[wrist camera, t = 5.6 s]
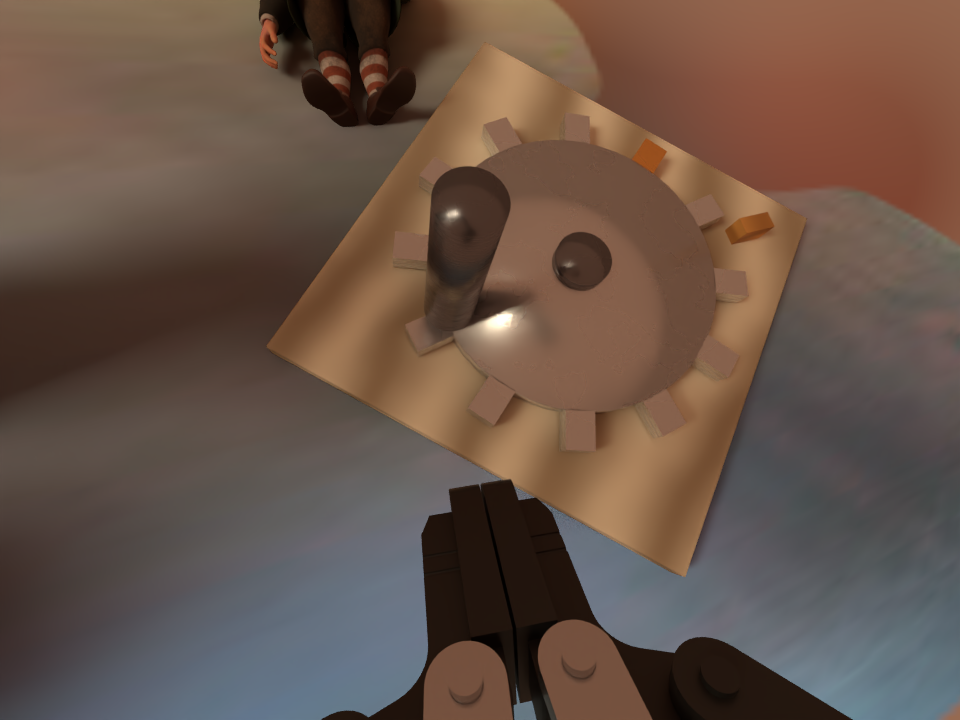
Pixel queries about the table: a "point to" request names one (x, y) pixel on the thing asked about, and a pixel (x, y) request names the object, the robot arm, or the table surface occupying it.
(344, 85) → the leprechaun
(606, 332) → the sprocket
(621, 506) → the base board
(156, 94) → the table surface
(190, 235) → the table surface
